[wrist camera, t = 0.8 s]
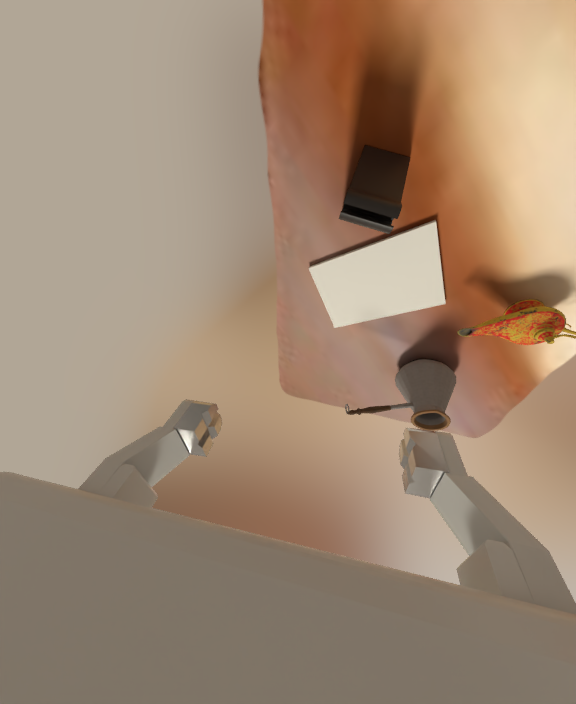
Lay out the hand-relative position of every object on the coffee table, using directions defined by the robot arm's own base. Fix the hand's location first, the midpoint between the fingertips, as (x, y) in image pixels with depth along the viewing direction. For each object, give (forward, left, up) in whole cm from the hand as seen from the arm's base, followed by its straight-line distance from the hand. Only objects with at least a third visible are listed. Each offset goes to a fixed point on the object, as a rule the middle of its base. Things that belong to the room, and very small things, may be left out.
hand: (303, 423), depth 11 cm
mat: (+1, +13, -37) cm, 39 cm away
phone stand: (-2, -1, -37) cm, 37 cm away
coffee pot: (+1, +35, -37) cm, 51 cm away
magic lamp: (-18, +25, -37) cm, 48 cm away
